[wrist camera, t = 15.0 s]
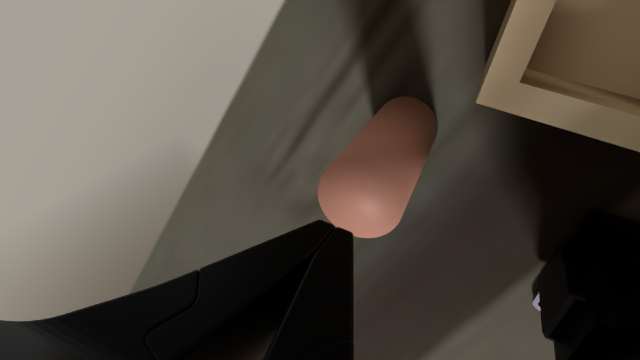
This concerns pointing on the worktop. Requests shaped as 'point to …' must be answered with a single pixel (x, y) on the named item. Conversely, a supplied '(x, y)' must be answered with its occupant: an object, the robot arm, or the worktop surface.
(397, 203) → the key peg
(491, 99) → the wooden box
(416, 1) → the worktop surface
